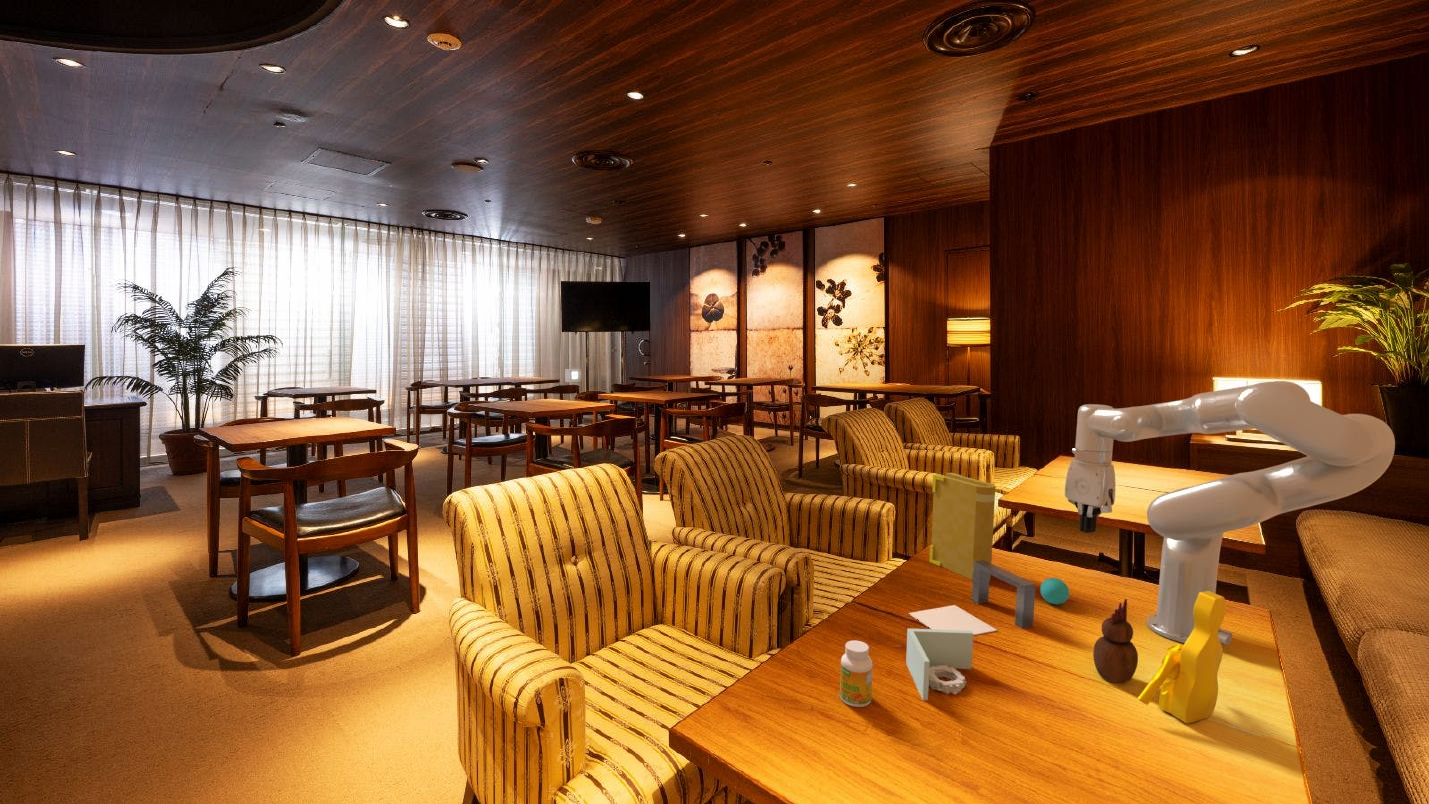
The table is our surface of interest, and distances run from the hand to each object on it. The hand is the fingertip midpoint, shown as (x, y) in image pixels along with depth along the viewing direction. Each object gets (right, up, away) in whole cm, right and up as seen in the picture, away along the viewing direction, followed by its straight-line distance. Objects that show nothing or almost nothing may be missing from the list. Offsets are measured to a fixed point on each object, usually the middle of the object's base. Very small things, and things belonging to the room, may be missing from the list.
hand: (1087, 531), depth 146 cm
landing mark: (-37, -18, -11) cm, 43 cm away
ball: (-9, -14, -2) cm, 17 cm away
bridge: (-24, -17, -7) cm, 30 cm away
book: (-23, -15, +19) cm, 33 cm away
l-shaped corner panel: (-47, -21, -35) cm, 62 cm away
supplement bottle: (-65, -21, -40) cm, 79 cm away
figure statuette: (-11, -22, -44) cm, 50 cm away
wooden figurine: (-16, -20, -33) cm, 42 cm away
